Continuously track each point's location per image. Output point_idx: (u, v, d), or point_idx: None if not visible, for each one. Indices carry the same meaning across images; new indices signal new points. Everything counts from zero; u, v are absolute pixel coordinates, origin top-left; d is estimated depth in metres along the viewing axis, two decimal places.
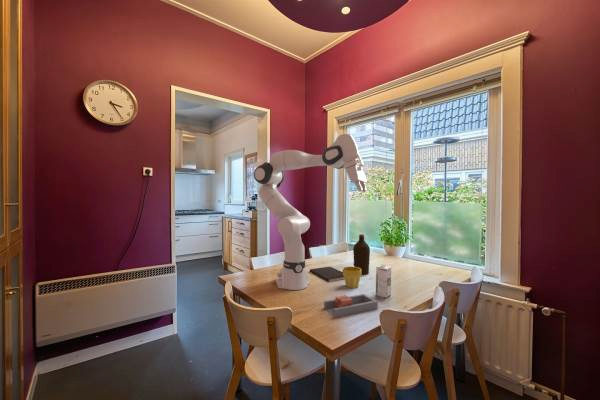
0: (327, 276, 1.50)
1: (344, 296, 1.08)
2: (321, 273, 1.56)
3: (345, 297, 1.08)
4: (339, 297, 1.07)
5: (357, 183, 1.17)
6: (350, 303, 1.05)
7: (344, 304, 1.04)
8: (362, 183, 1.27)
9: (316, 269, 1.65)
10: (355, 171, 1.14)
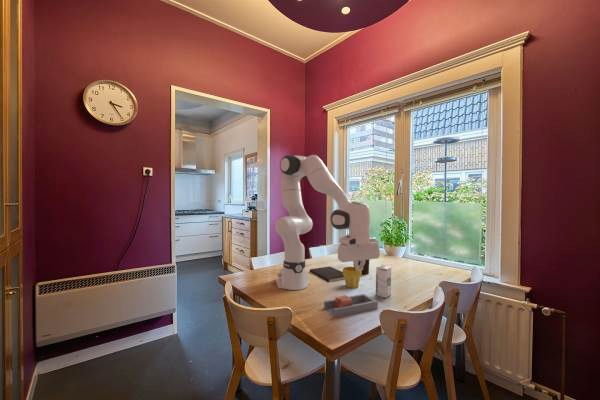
0: (327, 276, 1.50)
1: (344, 296, 1.08)
2: (321, 273, 1.56)
3: (345, 297, 1.08)
4: (339, 297, 1.07)
5: (354, 262, 1.09)
6: (350, 303, 1.05)
7: (344, 304, 1.04)
8: (361, 260, 1.10)
9: (316, 269, 1.65)
10: (342, 252, 1.04)
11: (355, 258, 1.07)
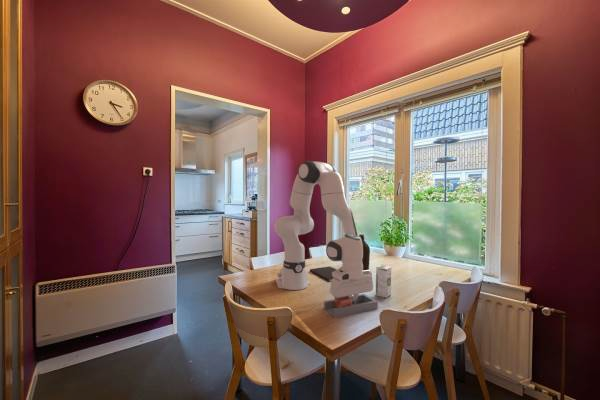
0: (327, 276, 1.50)
1: None
2: (321, 273, 1.56)
3: (344, 297, 1.07)
4: (338, 297, 1.07)
5: (347, 296, 1.08)
6: (349, 303, 1.05)
7: (344, 304, 1.04)
8: None
9: (316, 269, 1.65)
10: (335, 288, 1.03)
11: (348, 293, 1.06)
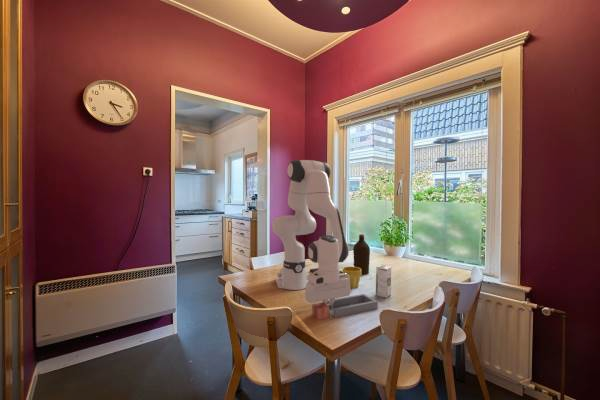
0: None
1: (313, 308, 1.01)
2: None
3: (314, 309, 1.00)
4: (313, 315, 1.01)
5: (323, 301, 1.03)
6: (322, 310, 0.99)
7: (321, 317, 0.99)
8: None
9: (316, 269, 1.65)
10: (309, 292, 0.98)
11: (323, 297, 1.01)
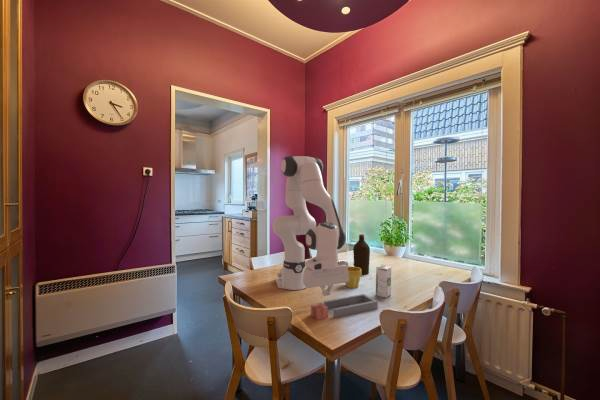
0: None
1: (312, 309, 1.01)
2: None
3: (313, 310, 1.00)
4: (312, 315, 1.01)
5: (321, 287, 1.03)
6: (321, 310, 0.99)
7: (320, 318, 0.99)
8: None
9: None
10: (307, 278, 0.99)
11: (321, 283, 1.01)
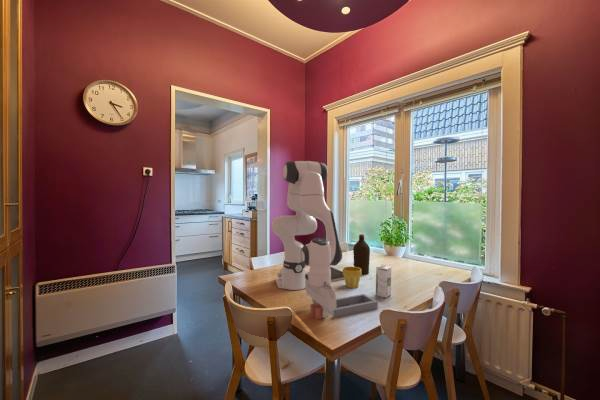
0: None
1: (312, 308, 1.01)
2: None
3: (313, 309, 1.01)
4: (312, 315, 1.01)
5: None
6: (320, 310, 0.99)
7: (320, 317, 0.99)
8: None
9: None
10: None
11: (312, 296, 1.04)
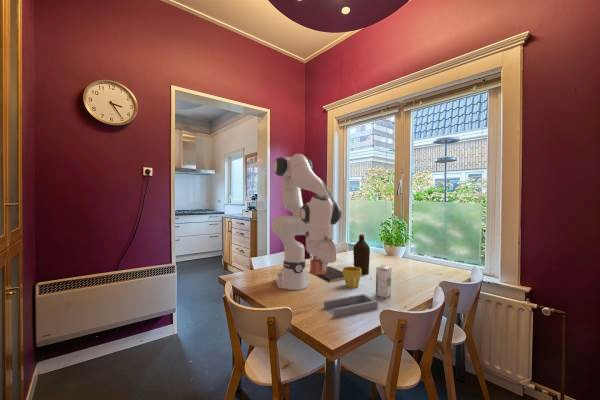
0: (328, 276, 1.50)
1: (311, 263, 1.03)
2: None
3: (312, 263, 1.03)
4: (311, 269, 1.04)
5: None
6: (320, 263, 1.01)
7: (319, 270, 1.01)
8: None
9: None
10: None
11: (312, 252, 1.06)
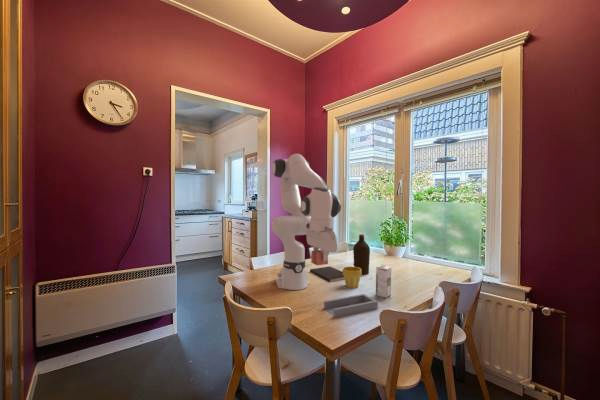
0: (328, 276, 1.50)
1: (312, 254, 1.04)
2: (322, 273, 1.56)
3: (313, 254, 1.03)
4: (312, 260, 1.04)
5: None
6: (321, 254, 1.02)
7: (320, 261, 1.02)
8: None
9: (316, 269, 1.65)
10: None
11: (313, 244, 1.07)
